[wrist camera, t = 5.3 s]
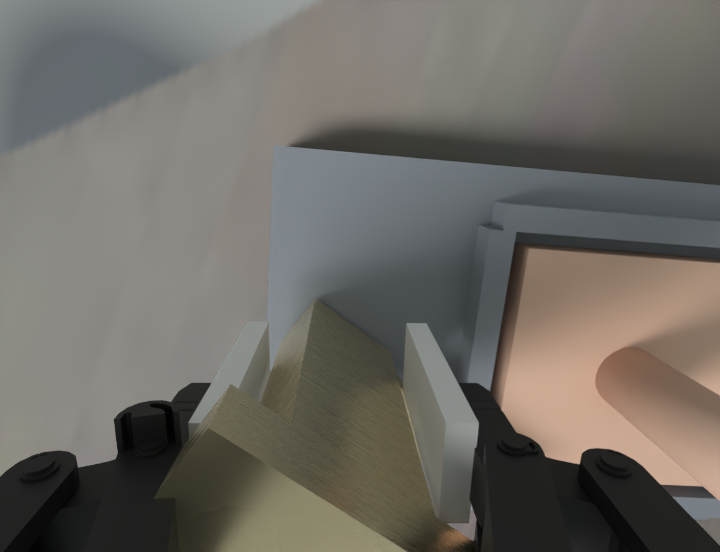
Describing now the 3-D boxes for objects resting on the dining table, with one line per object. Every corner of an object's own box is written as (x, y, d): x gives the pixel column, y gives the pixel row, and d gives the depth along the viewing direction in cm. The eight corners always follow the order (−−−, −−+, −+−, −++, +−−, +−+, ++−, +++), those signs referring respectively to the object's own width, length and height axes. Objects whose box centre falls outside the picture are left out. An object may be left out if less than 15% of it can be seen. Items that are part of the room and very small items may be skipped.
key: (510, 437, 20) (694, 730, 10) (475, 474, 21) (618, 796, 10) (285, 276, 18) (208, 428, 8) (251, 321, 19) (132, 525, 8)
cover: (742, 260, 19) (1155, 354, 9) (684, 465, 21) (969, 710, 12) (514, 242, 19) (705, 323, 9) (479, 455, 21) (600, 705, 11)
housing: (745, 189, 22) (848, 195, 17) (665, 479, 25) (733, 544, 21) (283, 148, 20) (267, 142, 16) (269, 460, 24) (253, 526, 19)
